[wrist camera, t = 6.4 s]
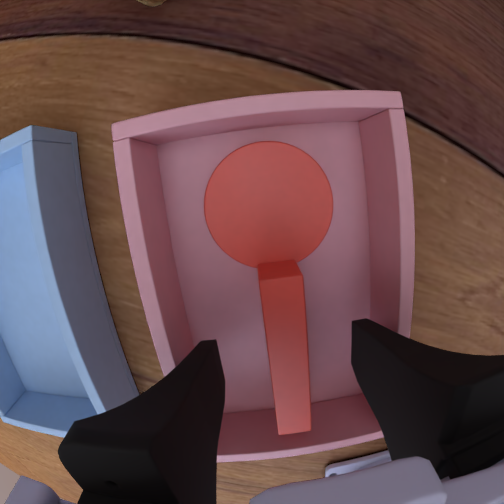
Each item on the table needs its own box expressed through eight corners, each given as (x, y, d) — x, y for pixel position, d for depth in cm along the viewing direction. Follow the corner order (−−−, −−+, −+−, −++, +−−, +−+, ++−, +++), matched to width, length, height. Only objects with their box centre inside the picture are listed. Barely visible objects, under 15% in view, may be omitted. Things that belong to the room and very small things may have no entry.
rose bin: (371, 392, 15) (393, 434, 12) (204, 415, 15) (196, 462, 12) (364, 109, 11) (401, 90, 8) (145, 135, 12) (110, 123, 8)
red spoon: (333, 383, 14) (349, 424, 11) (241, 396, 14) (239, 439, 11) (318, 138, 11) (340, 128, 8) (200, 152, 11) (184, 145, 9)
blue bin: (143, 403, 15) (125, 447, 12) (28, 392, 15) (3, 422, 12) (77, 131, 12) (31, 124, 8) (-36, 181, 12) (-77, 187, 8)
